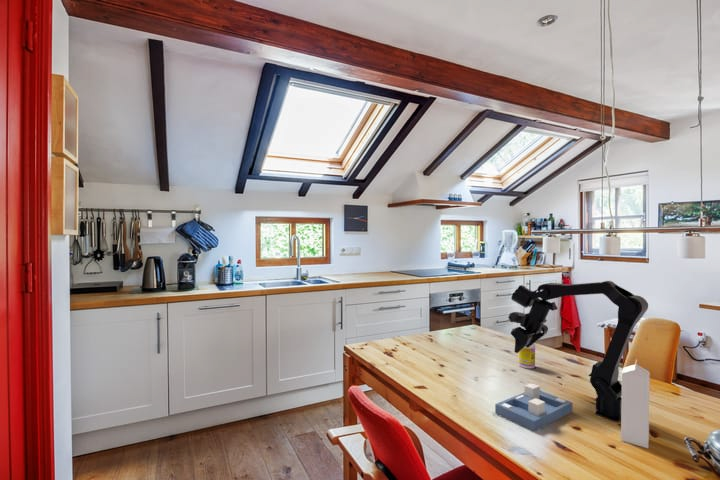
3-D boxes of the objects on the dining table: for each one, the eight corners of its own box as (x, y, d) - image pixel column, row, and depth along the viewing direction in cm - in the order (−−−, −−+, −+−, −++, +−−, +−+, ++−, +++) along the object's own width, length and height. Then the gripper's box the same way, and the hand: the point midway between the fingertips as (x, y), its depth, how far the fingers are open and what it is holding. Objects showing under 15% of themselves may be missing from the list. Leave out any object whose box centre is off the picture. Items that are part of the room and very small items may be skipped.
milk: (648, 439, 102) (650, 361, 102) (648, 449, 97) (650, 366, 97) (622, 431, 106) (623, 356, 106) (620, 440, 101) (622, 361, 101)
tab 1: (539, 400, 123) (539, 386, 123) (532, 403, 121) (533, 388, 121) (531, 397, 125) (531, 383, 125) (524, 400, 123) (524, 385, 123)
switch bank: (572, 411, 118) (572, 401, 118) (534, 431, 106) (534, 420, 106) (534, 396, 129) (534, 387, 129) (495, 413, 116) (495, 403, 116)
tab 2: (544, 418, 111) (545, 401, 111) (537, 421, 109) (537, 405, 109) (535, 414, 114) (535, 398, 114) (528, 417, 111) (528, 401, 111)
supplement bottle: (533, 370, 154) (533, 340, 154) (516, 366, 158) (516, 337, 158) (536, 365, 160) (536, 336, 160) (520, 362, 164) (520, 334, 164)
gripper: (528, 300, 145) (513, 333, 150) (505, 306, 132) (490, 342, 137) (555, 314, 137) (539, 349, 142) (534, 323, 125) (517, 360, 130)
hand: (521, 349), depth 138 cm, fingers open, 9 cm apart
